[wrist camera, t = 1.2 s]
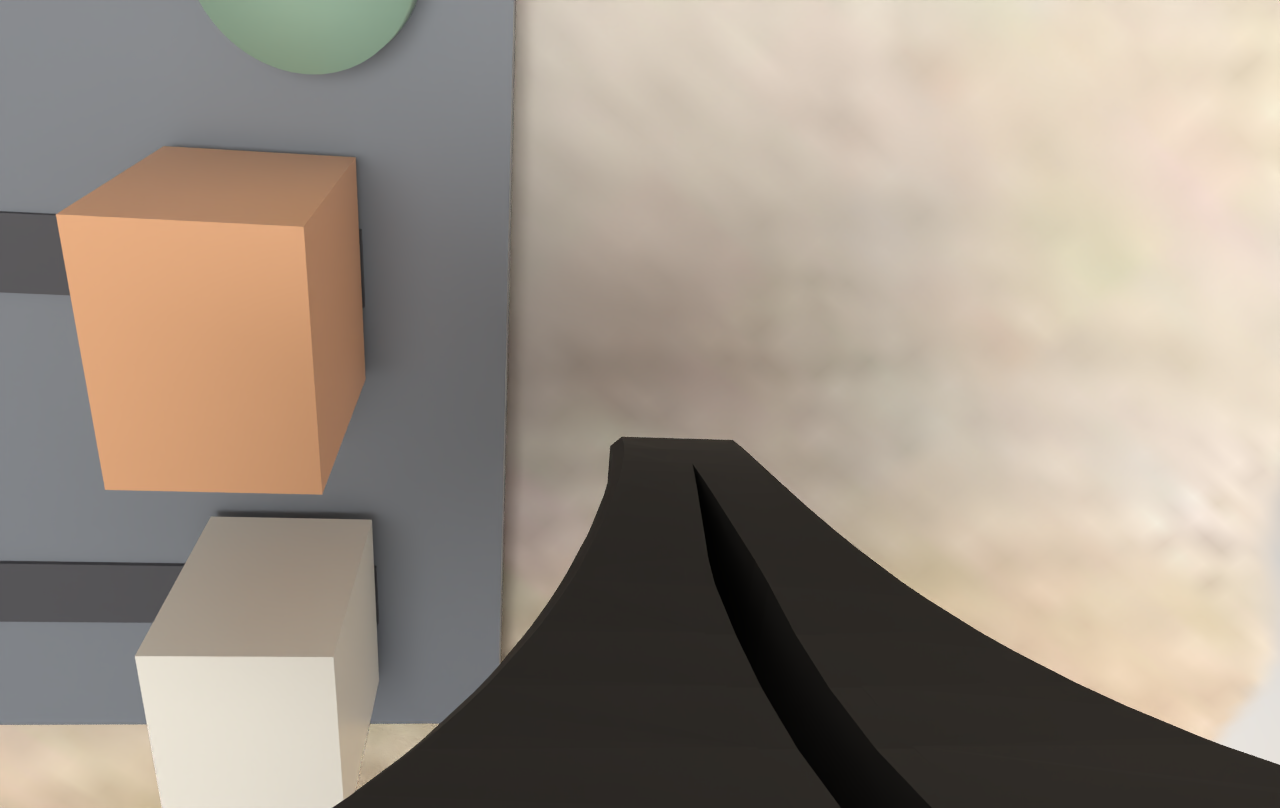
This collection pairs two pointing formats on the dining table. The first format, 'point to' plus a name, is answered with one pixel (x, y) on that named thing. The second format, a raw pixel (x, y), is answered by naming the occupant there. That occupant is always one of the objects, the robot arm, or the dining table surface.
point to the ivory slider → (264, 665)
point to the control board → (391, 302)
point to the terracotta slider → (219, 318)
